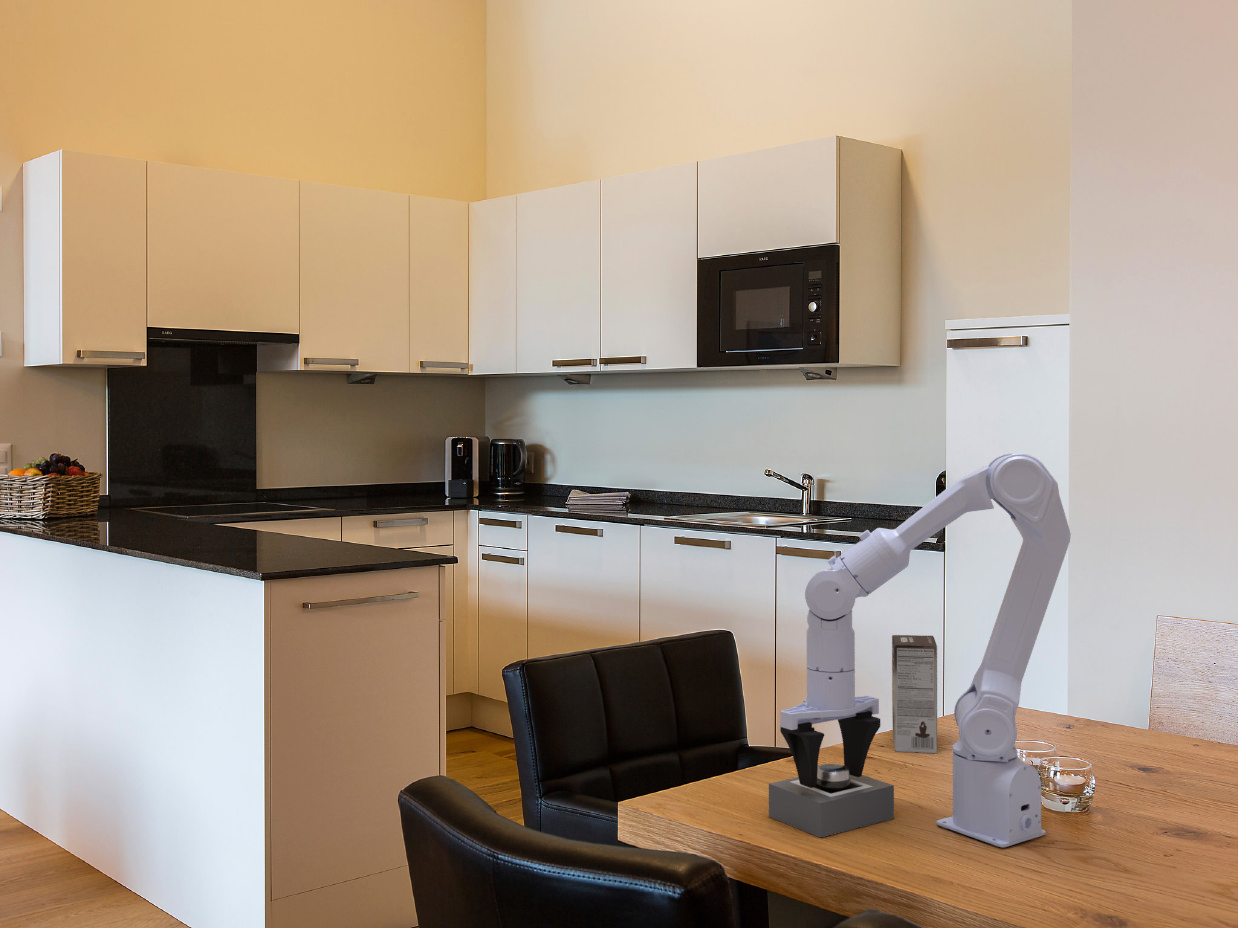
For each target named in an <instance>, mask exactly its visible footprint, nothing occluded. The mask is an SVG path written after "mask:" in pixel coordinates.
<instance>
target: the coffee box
mask: <svg viewBox="0 0 1238 928" xmlns="http://www.w3.org/2000/svg"><path fill="white" fill-rule="evenodd" d="M891 692H892V693H891V696H892V697H891V702H892V705H891V706H892V707H891V708H892V738H893V746H894V747H893V748H894V751H895V752H897V753H899V752H900V753H915V752H918V753H917V754H919V753H921V754H938V645H937V642H936V639H935V636H934V635H916V634H914V635H910V634H909V635H908V634H905V635H904V634H892V635H891Z"/></svg>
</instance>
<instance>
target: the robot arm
mask: <svg viewBox="0 0 1238 928" xmlns="http://www.w3.org/2000/svg"><path fill="white" fill-rule="evenodd" d="M1059 491H1060V489H1059V484H1058V482H1057V481H1056V479H1055V478H1054V476H1053V475H1052V474H1051V473H1050V471H1049V469H1047V467H1046V466H1045V465H1044V463H1043V462H1042V461H1040V460H1039V459H1038V458H1036V456H1032V455H1030V454H1027V453H1007V454H1002V455H999V456H997V457H996V458H994V459H993V460H991V462H990V463H989V464H988V466H984V465H983V466H981V467H979V468H977V469H976V470H973V471H971V472H970V473H968V474H966V475H964V476H963V477H961V478H959V479H958V480H956V481H955V482H953V483H952V484H951V485H950V486H948V487H947V488H946V489H944V490H943V491H941V493H939V494H938V495H937V496H936V497H934V498H933V499H931V500H930V501H929V502H928V503H927V504H925V505H924V506H923V507H922V508H920V509H919V510H917V511H916V512H915V513H914V514H913V515H911V516H910V517H909V518H907V519H906V520H905V521H903V522H902V523H901V524H899V525H898V527H896V528H894V529H890V528H889V529H888V528H885V527H884V528H883V527H877V528H876V529H874V530H873V531H872V532H870V530H868V529H866V530H864V532H862V533H861V534H859V535H858V537H859V539H860V540H859V541H858V542H857V543H855V544H854V545H853V546H851V547H850V548H849V549H847V550H846V551H845V552H843V553H842V554H841V555H840V556H838V557H837V556H835V555H833V556H831V557H830V558H829V559H828V560H827V563H828V564H829V565H830V566H829V567H824V568H822V569H819V570H818V571H816V572H815V573H814V574H813V575H812V576H811V578H810V579H809V581H807V584H806V587H805V592H804V598H805V603H806V605H807V607H808V612H807V617H806V622H807V624H808V627H807V629H806V698H804V699H803V700H802V703H800V704H798V705H795V706H792V707H790V708H788V709H784V710H783V709H782V710H780V714H779V715H780V726H779V727H780V729H779V730H780V733H781V736H782V737H783V738H784V740H785V743H786V744H787V746H788V747H789V748H788V749H789V750H790V753H791V755H792V758H793V761H794V765H795V767H796V772H797V777H799V781H800V784H801V785H804V786H807V787H809V788H814V787H816V783H817V772H818V765H819V756H820V750H821V746H822V744H823V740H824V737H825V734H824V732H821V731H817V730H815V727H813V725H816V724H821V723H827V722H831V721H837V722H838V725H839V730H840V733H841V738H842V739H841V740H842V745H843V747H842V749H843V764H844V766H847V767H848V768H849V775H852V776H855V777H861V776H862V775H863V772H864V767H865V763H866V760H867V756H868V753H869V749H870V748H871V747H870V746H871V744H872V743H873V740H874V738H875V736H876V734H877V732H878V731H879V729H880V728H881V718H879V717H877V716H875V715H878V714H879V713H880V712H879V711H880V710H879V709H880V708H879V707H880V705H879V704H880V703H879V702H880V700H879V699H880V698H878V697H875V696H870V695H863V696H855V695H856V694H855V693H856V685H855V684H856V681H855V680H856V679H855V678H856V677H855V672H856V671H855V670H856V669H855V668H856V667H855V665H856V664H855V661H856V658H855V657H856V656H855V654H856V653H855V652H856V651H855V650H856V649H855V645H856V644H855V643H856V641H855V640H856V638H855V629H854V628H853V608H854V606H855V603H856V599H858V598H865V597H868V596H869V595H871V594H872V593H873V592H875V591H876V590H878V589H879V588H881V587H882V586H883V585H884V584H886V583H887V582H889V581H890V580H891V579H892V578H894V577H896V575H898V574H899V573H900V572H902V571H904V570H905V569H906V568H908V567H909V564H910V554H911V551H912V550H914V549H915V548H917V547H918V546H919V545H921V544H922V543H924V542H925V541H927V540H928V539H929V538H931V537H933V536H934V535H935V534H937V533H938V532H939V531H941V530H942V529H944V528H945V527H947V526H948V525H950V524H951V523H953V522H954V521H957V519H958V518H960V517H961V516H963V515H965V514H966V513H971V512H979V511H987V510H993V509H994V508H995V506H994V505H993V502H992V500H993V501H994V502H995V503H996V504H997V505H998V506H999V507H1001V508H1002V509H1003V510H1004V511H1005V512H1006V513H1008V515H1009V516H1010V519H1011V521H1012V522H1013V524H1014V526H1015V527H1016V529H1017V530H1018V533H1019V534H1020V535H1021V537H1022V543H1021V544H1020V545H1021V546H1020V549H1019V552H1018V555H1017V558H1016V561H1015V563H1014V566H1013V570H1012V572H1011V575H1010V579H1009V582H1008V584H1007V587H1006V591H1005V593H1004V596H1003V599H1002V603H1001V604H1000V608H999V611H998V613H997V616H996V620H995V622H994V625H993V627H992V628H993V629H992V631H991V633H990V637H989V640H988V643H987V645H986V649H985V652H984V655H983V657H982V661H981V664H980V666H979V667H978V669H977V671H976V672H975V674H974V676H973V678H972V681H971V683H970V686H969V688H967V689H966V691H964V693H962V694H961V695H960V696H959V698H957V701H956V702H955V705H954V711H953V712H954V713H953V714H954V721H955V723H956V725H957V726H958V735H959V738H958V740H957V741H956V742H955V743H953V744H952V816H949V817H943V818H941V819H938V820H936V825H937V826H940V827H941V828H945V829H949V830H951V831H953V832H955V833H959V834H962V835H965V836H968V837H971V838H972V839H973V838H974V839H976V840H980V841H981V842H985V843H987V844H990V845H993V846H995V847H998V848H999V847H1000V848H1007V847H1010V846H1014V845H1016V844H1021V843H1022V842H1027V841H1029V840H1033V839H1036V838H1039V837H1042V836H1045V835H1046V830H1045V829H1043V828H1042V781H1041V777H1040V775H1039V772H1038V770H1037V768H1035V767H1034V766H1032V765H1030V764H1028V763H1027V762H1024V761H1023V760H1021V758H1020V757H1019V756H1018V750H1017V747H1016V746H1015V744H1016V741H1017V740H1018V739H1017V738H1018V728H1017V723H1016V722H1017V721H1016V715H1017V710H1018V708H1019V704H1020V700H1021V688H1022V682H1023V679H1024V676H1025V673H1026V670H1027V668H1028V665H1029V662H1030V659H1031V655H1032V654H1033V653H1032V652H1033V650H1034V647H1035V644H1036V641H1037V638H1038V635H1039V632H1040V630H1041V626H1042V623H1043V621H1044V618H1045V616H1046V612H1047V609H1048V606H1049V604H1050V600H1051V597H1052V594H1053V591H1054V589H1055V586H1056V583H1057V580H1058V577H1059V575H1060V571H1061V568H1062V566H1063V562H1064V560H1065V557H1066V554H1067V551H1068V548H1069V544H1070V543H1071V542H1070V541H1071V535H1072V533H1071V530H1070V529H1071V528H1070V526H1069V522H1068V520H1067V516H1066V513H1065V510H1064V506H1063V502H1062V500H1061V496H1060V492H1059ZM873 715H874V716H873Z"/></svg>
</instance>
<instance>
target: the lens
mask: <svg viewBox="0 0 1238 928" xmlns="http://www.w3.org/2000/svg"><path fill="white" fill-rule="evenodd" d="M815 788H816V789H819V790H822V791H825V792H827V793H830V794H832V793H836V792H840V791H844V790H848V789H850V777H849V768H848V767H847V766H844V765H843V764H838V763H822V764H818V772H817V783H816V787H815Z"/></svg>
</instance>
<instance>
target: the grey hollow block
mask: <svg viewBox="0 0 1238 928" xmlns="http://www.w3.org/2000/svg"><path fill="white" fill-rule="evenodd" d="M849 777H850V789H848V790H844V791H840V792H836V793H832V794H830V793H827V792H825V791H822V790H819V789H816V788H815V787H814V788H809V787H807V786H804V785H801V784H800V781H799V777H798V776H797V777H792V778H787V779H784V780H783V779H782V780H780V781H773V782H771V783H768V817H769V818H771V819H775V820H776V821H779V822H781V823H783V824H787V826H788V825H789V826H791V827H794V828H795V827H796V829H798V830H800V829H801V830H800V831H802V832H805V833H808V834H810V833H811V835H813V836H815V837H818V838H820V837H823V838H827V837H829V836H828V835H831V836H834V835H836V834H835V833H838V834H841V833H840V832H842V833H844V832H845V831H846V832H848V831H847V830H849V831H853V830H856V828H857V829H859V828H858V827H860V828H864V827H868V826H872V825H875V824H878V823H883V822H886V821H890V820H893V819H895V785H894V784H890V783H888V782H884V781H882V780H879V779H876V778H873V777H869V776H866V775H863V774H862V776H861V777H855V776H852V775H849ZM871 824H872V825H871ZM863 826H864V827H863ZM852 829H853V830H852ZM846 832H845V833H846ZM833 834H834V835H833ZM826 836H827V837H826Z"/></svg>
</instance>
